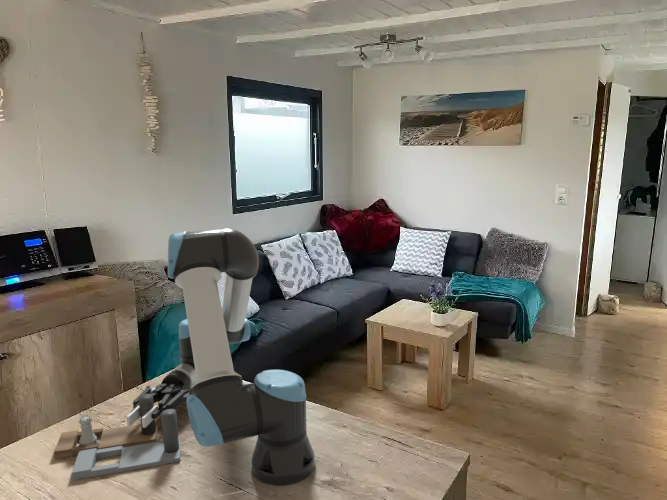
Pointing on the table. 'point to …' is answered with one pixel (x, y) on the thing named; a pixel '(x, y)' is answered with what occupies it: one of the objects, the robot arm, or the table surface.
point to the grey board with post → (133, 453)
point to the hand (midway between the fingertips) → (135, 422)
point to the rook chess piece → (87, 431)
